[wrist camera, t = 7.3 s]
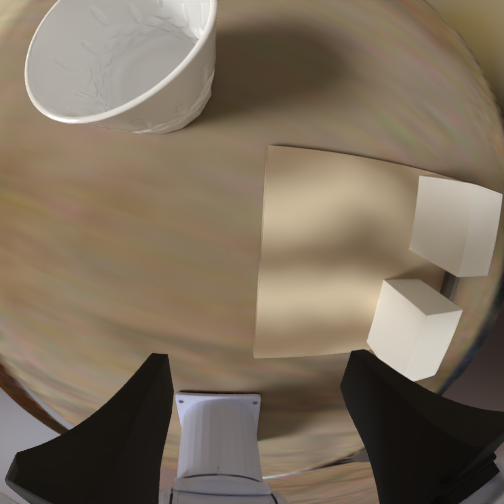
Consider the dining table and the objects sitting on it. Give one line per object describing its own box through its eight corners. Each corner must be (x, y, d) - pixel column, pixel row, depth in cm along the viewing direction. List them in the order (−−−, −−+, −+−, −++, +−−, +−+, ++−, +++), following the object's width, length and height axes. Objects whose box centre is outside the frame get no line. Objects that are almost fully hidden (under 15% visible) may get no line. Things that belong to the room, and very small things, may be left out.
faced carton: (451, 183, 18) (502, 194, 12) (441, 251, 20) (487, 275, 14) (419, 175, 18) (474, 184, 12) (409, 249, 19) (457, 277, 14)
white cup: (234, 49, 15) (244, -41, 5) (204, 152, 17) (177, 135, 7) (130, 38, 14) (72, -32, 4) (99, 136, 16) (3, 122, 6)
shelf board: (423, 335, 24) (434, 347, 21) (253, 352, 22) (255, 370, 20) (458, 180, 19) (476, 184, 17) (266, 146, 17) (272, 143, 15)
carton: (419, 278, 20) (463, 310, 15) (401, 337, 22) (435, 374, 16) (383, 279, 20) (426, 315, 14) (366, 342, 22) (397, 385, 16)
